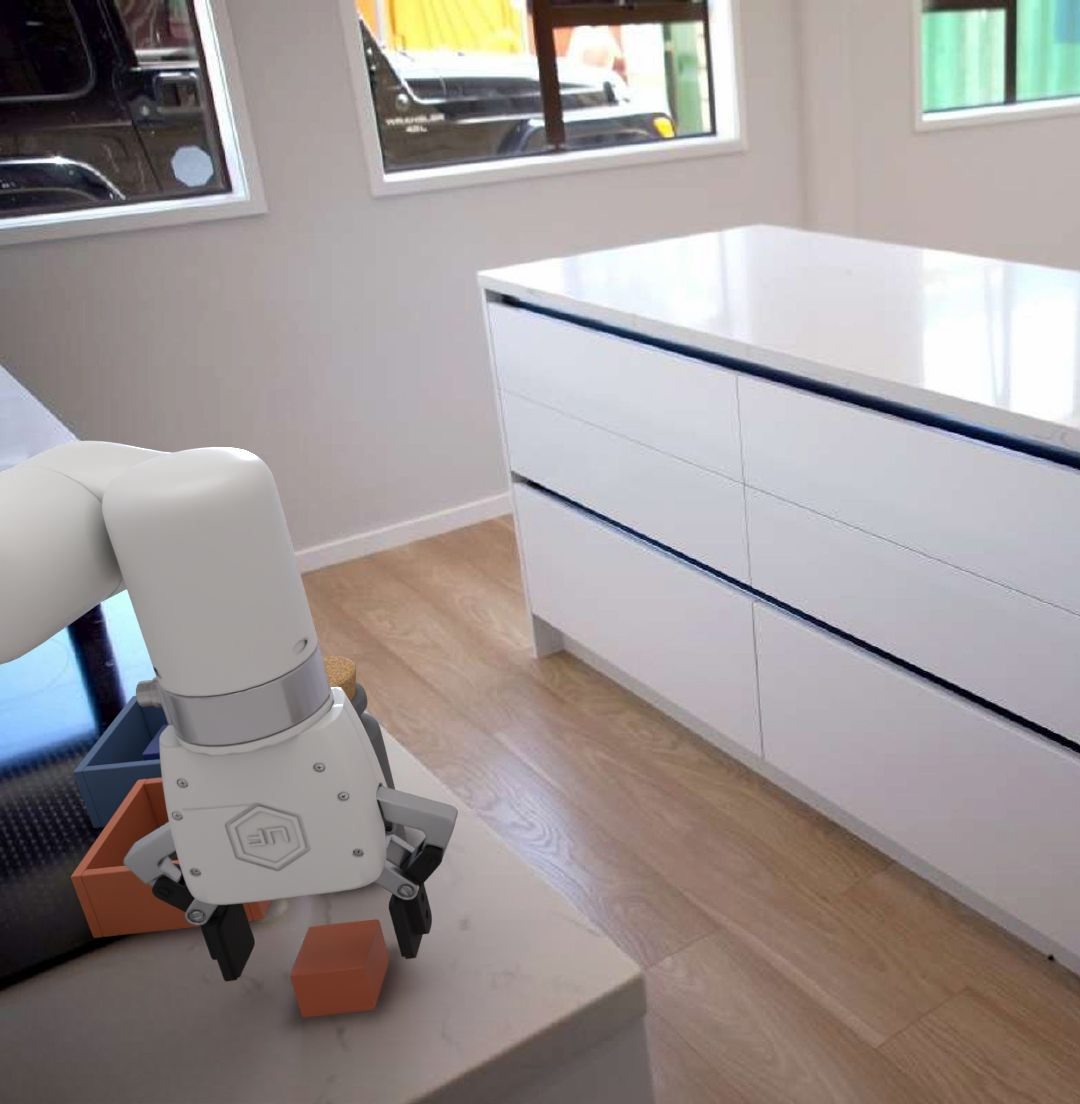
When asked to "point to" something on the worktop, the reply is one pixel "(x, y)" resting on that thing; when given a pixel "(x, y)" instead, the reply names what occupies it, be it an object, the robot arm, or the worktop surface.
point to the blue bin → (119, 761)
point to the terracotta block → (340, 968)
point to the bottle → (361, 715)
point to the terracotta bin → (116, 891)
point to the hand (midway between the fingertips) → (328, 952)
